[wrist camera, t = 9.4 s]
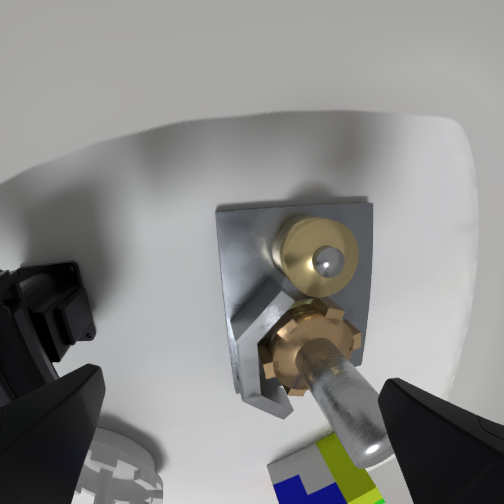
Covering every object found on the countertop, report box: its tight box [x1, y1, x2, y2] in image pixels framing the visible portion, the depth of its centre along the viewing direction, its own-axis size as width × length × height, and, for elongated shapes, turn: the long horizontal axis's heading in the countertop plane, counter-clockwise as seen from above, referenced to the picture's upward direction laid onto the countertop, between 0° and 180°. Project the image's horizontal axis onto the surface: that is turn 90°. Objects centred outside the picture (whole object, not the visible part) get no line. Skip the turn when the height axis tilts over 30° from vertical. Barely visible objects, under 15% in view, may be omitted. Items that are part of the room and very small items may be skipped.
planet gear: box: [257, 297, 394, 469], centre depth 15 cm, size 8×7×12 cm
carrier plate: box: [215, 202, 373, 419], centre depth 19 cm, size 12×16×5 cm
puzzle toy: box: [267, 432, 385, 504], centre depth 23 cm, size 10×10×10 cm
